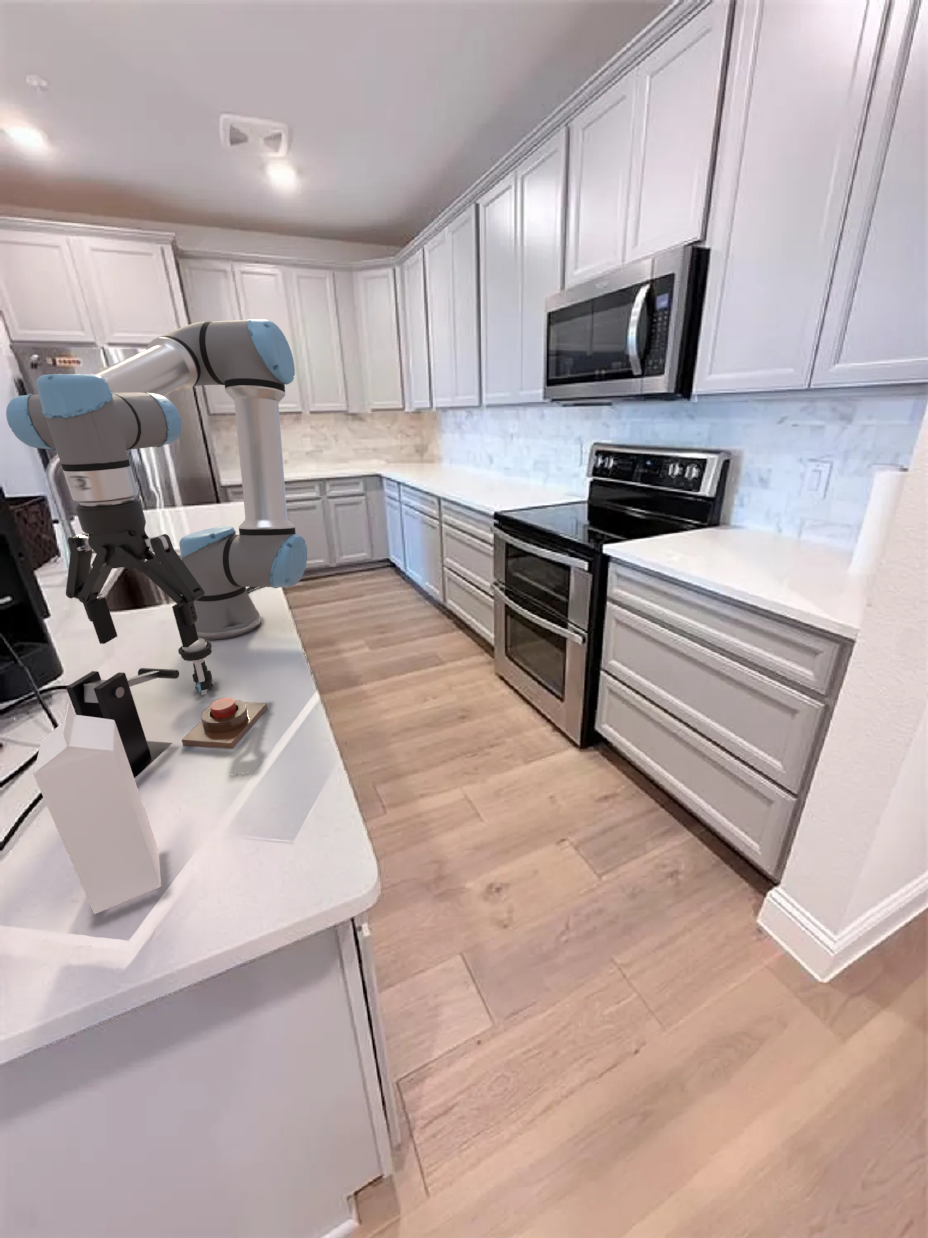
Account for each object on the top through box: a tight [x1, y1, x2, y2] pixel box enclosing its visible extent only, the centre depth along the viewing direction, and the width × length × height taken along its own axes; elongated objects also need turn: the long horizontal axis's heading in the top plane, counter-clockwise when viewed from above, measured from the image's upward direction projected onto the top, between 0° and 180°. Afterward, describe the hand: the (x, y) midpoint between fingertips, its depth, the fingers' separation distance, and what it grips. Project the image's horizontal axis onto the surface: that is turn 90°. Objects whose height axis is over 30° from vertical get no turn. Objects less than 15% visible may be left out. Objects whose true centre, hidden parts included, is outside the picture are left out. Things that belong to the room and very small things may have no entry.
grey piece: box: [177, 638, 215, 696], centre depth 91 cm, size 7×5×10 cm
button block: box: [181, 699, 268, 750], centre depth 80 cm, size 11×8×4 cm
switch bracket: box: [65, 670, 173, 779], centre depth 70 cm, size 10×8×15 cm
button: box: [209, 697, 237, 719], centre depth 80 cm, size 4×4×2 cm
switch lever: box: [83, 667, 180, 703], centre depth 73 cm, size 13×6×2 cm, turn 173°
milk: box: [32, 702, 162, 915], centre depth 51 cm, size 6×6×22 cm
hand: (149, 641), depth 77 cm, fingers open, 13 cm apart
